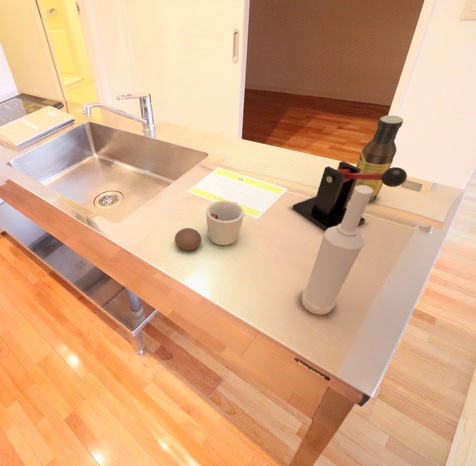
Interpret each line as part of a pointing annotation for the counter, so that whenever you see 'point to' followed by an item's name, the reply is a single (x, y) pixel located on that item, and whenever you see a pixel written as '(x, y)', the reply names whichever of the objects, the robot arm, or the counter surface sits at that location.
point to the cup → (224, 221)
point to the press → (330, 198)
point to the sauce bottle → (379, 152)
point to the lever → (379, 176)
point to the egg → (188, 238)
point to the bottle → (336, 256)
